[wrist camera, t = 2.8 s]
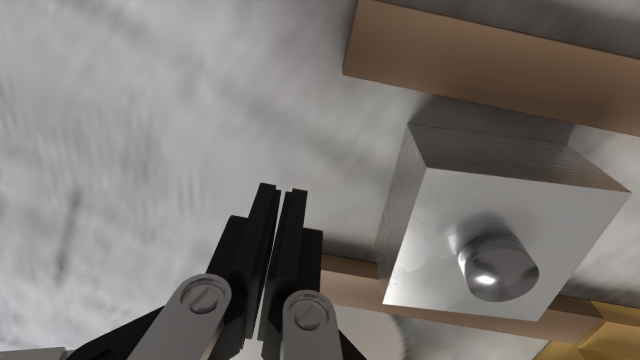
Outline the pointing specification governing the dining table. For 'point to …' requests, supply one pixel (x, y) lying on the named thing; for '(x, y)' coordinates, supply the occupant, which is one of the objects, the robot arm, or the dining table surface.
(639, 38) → the dining table surface
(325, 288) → the beam slot
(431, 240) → the rider
